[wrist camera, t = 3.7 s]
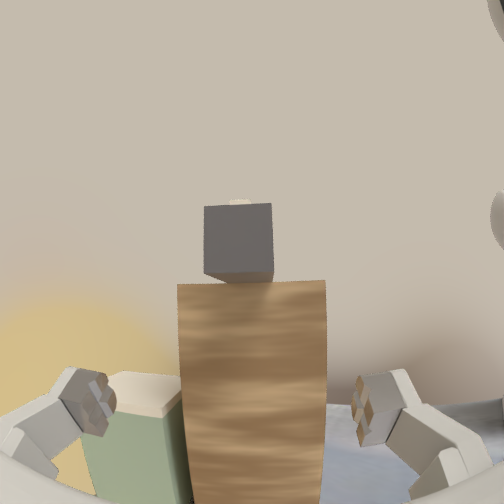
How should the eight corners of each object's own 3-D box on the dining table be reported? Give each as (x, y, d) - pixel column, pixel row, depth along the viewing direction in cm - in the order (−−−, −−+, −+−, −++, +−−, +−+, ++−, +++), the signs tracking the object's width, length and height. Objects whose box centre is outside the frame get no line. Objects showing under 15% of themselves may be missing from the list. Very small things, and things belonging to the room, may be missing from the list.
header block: (136, 462, 32) (123, 370, 35) (202, 472, 32) (194, 376, 34) (99, 502, 20) (72, 392, 23) (180, 523, 20) (161, 408, 22)
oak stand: (221, 460, 35) (213, 290, 40) (302, 460, 35) (303, 287, 39) (198, 526, 20) (177, 284, 24) (316, 527, 19) (325, 280, 23)
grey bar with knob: (242, 289, 36) (241, 254, 37) (271, 288, 36) (270, 253, 37) (203, 273, 15) (204, 192, 15) (274, 271, 15) (270, 188, 15)
